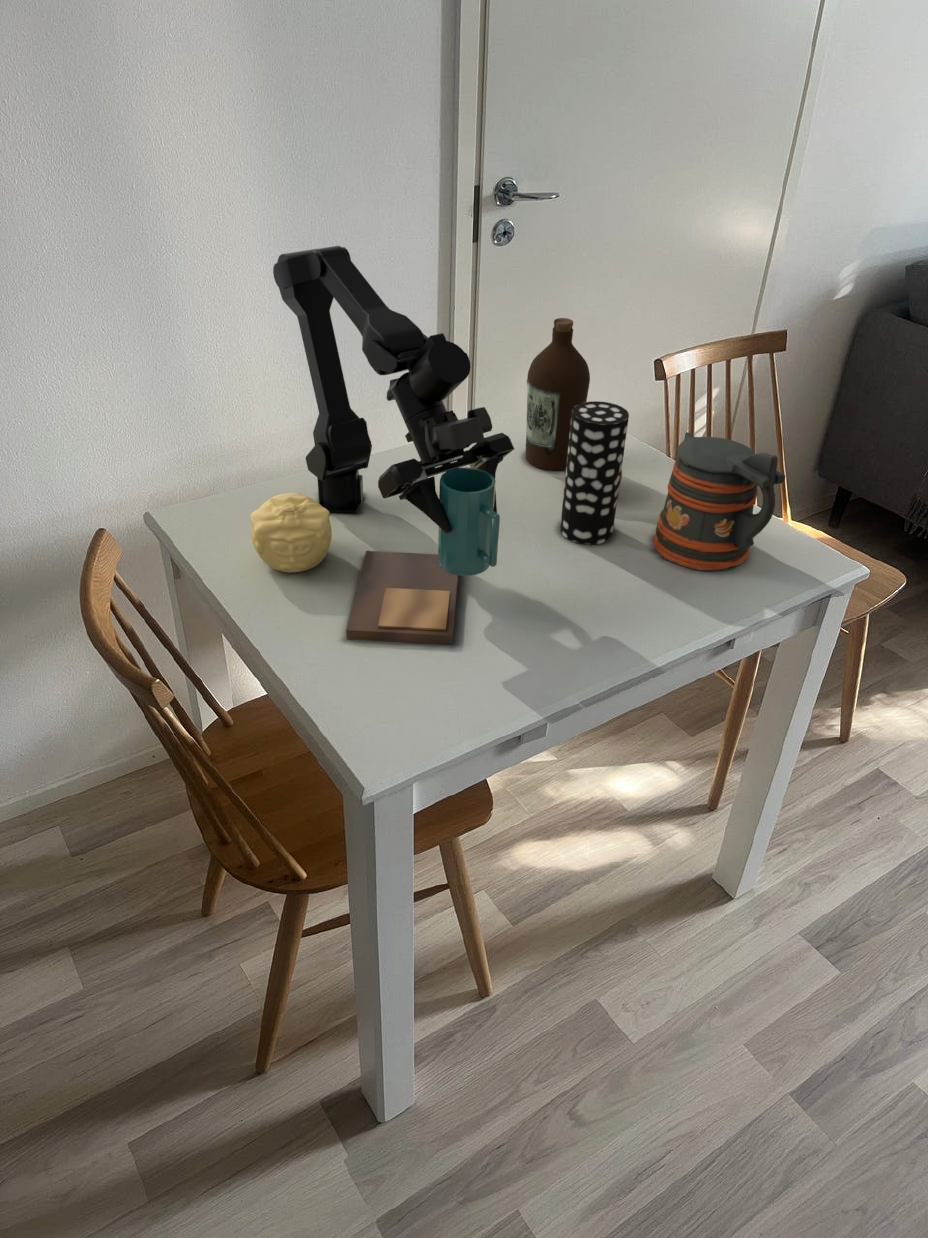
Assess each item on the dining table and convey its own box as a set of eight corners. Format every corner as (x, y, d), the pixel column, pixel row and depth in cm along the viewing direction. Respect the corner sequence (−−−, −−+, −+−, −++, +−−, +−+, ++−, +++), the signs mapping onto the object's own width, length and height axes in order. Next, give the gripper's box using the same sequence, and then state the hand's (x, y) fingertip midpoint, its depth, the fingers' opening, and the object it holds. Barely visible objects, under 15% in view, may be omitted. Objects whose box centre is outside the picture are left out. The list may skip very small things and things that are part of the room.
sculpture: (254, 585, 138) (246, 519, 131) (256, 541, 147) (248, 478, 141) (334, 580, 139) (331, 515, 133) (331, 537, 149) (328, 475, 142)
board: (346, 639, 128) (345, 628, 127) (366, 559, 144) (365, 548, 143) (451, 644, 128) (452, 633, 127) (459, 563, 144) (460, 553, 143)
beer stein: (791, 568, 145) (824, 447, 134) (724, 598, 138) (753, 472, 127) (699, 515, 158) (722, 400, 146) (633, 540, 151) (651, 421, 139)
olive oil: (548, 440, 179) (559, 305, 165) (593, 459, 173) (609, 321, 159) (509, 457, 173) (518, 319, 158) (554, 478, 167) (567, 336, 152)
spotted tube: (578, 549, 148) (592, 428, 136) (550, 524, 154) (561, 406, 142) (623, 537, 151) (640, 418, 140) (593, 513, 157) (607, 397, 146)
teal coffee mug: (428, 557, 132) (429, 476, 125) (469, 542, 136) (473, 462, 128) (472, 592, 126) (476, 509, 118) (515, 576, 129) (521, 493, 122)
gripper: (388, 406, 116) (439, 525, 115) (510, 374, 125) (558, 484, 125) (356, 441, 126) (403, 551, 125) (471, 410, 135) (515, 512, 134)
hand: (471, 524), depth 127 cm, fingers closed on teal coffee mug, 7 cm apart
